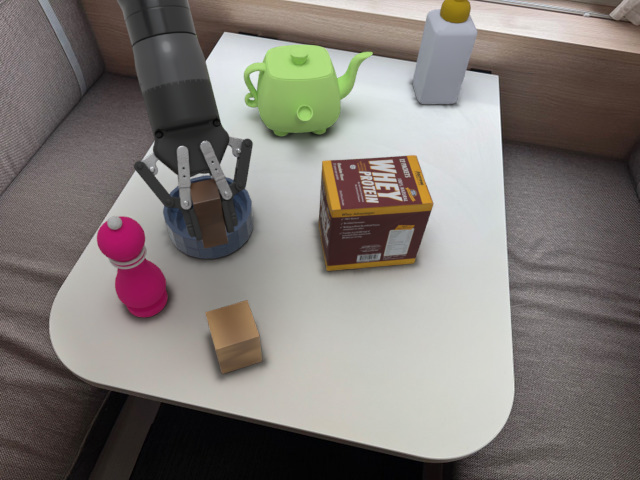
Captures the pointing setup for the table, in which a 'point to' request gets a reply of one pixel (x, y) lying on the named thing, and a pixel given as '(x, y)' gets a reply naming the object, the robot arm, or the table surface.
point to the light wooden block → (234, 336)
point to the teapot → (299, 88)
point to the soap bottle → (444, 53)
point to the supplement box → (372, 211)
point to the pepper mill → (132, 266)
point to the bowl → (235, 239)
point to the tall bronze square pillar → (209, 212)
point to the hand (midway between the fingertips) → (215, 235)
